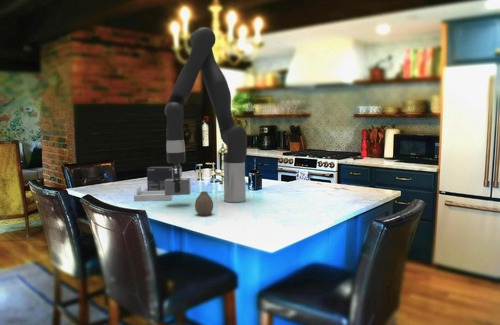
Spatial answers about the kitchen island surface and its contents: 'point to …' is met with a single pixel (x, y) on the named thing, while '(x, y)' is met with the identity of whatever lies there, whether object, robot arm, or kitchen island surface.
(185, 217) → the kitchen island surface
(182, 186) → the block
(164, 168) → the small box
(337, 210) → the kitchen island surface
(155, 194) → the tray
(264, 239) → the kitchen island surface
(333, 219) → the kitchen island surface
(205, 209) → the vase
